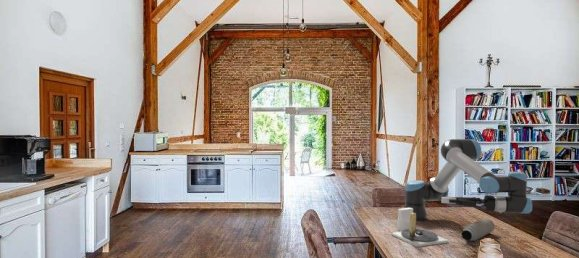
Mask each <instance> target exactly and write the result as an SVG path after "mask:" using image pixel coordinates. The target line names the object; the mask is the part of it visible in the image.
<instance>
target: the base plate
mask: <svg viewBox="0 0 579 258" xmlns="http://www.w3.org/2000/svg"><path fill="white" fill-rule="evenodd" d="M401 232H402V231H396V232H391V236H392V237H395V238H397V239H400V240H401V241H404V242H406V243H408V244H410V245H412V246H413V247H414V246H415V247H425V246H431V245H439V244H447V243H449V239H446V238H444V237H442V236H439V235H438V239H437V240H435V241H415V240H413V237H412V236H411V237H410V239H407V238H405V237H403V236H402V235H401Z"/></svg>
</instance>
